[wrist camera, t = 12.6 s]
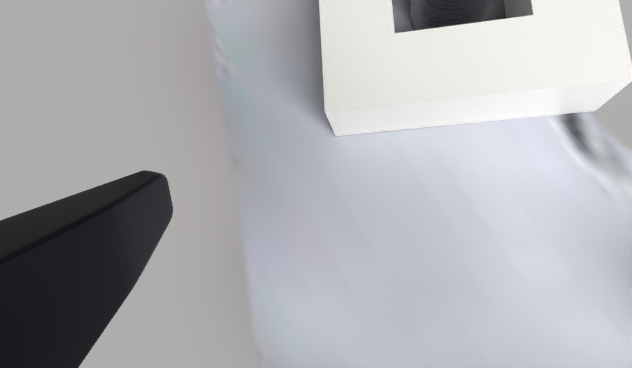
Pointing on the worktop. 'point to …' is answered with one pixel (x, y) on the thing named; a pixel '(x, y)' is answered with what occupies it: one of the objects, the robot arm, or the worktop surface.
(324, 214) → the worktop surface
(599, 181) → the worktop surface
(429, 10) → the long pin
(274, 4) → the worktop surface
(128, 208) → the robot arm
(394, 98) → the hole block
